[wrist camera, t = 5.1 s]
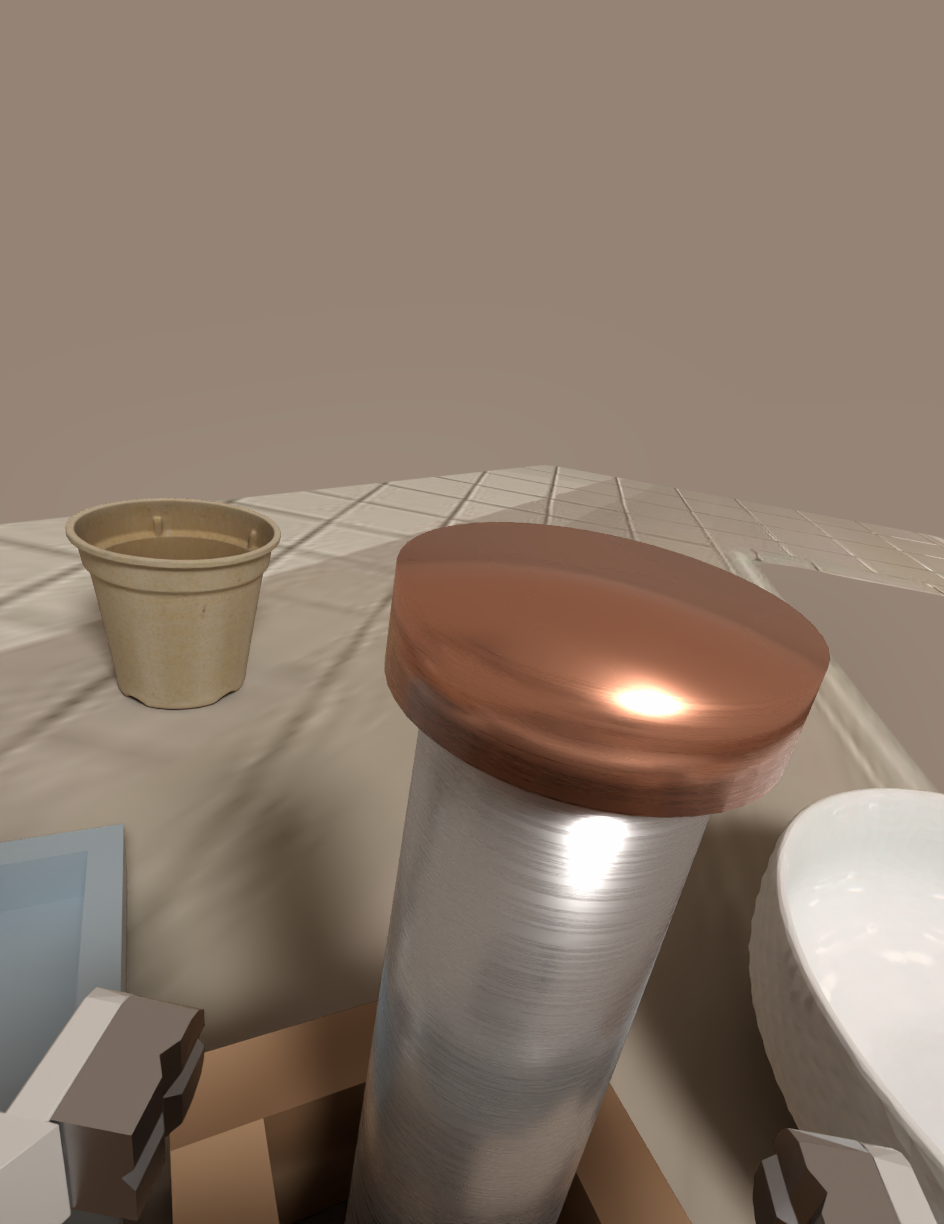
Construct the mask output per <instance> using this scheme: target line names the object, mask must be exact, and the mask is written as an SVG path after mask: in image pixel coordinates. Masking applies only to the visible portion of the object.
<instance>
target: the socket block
mask: <svg viewBox="0 0 944 1224" xmlns="http://www.w3.org/2000/svg"><path fill="white" fill-rule="evenodd" d="M377 1005H378V1000H377V1001H374V1002H370V1003H367V1004H364V1005H360V1006H357V1007H354V1008H350V1009H347V1010H344V1011H341V1012H337V1013H334V1014H331V1015H327V1016H324V1017H321V1018H317V1019H314V1020H311V1021H308V1022H304V1023H301V1024H298V1025H294V1026H291V1027H288V1028H284V1029H281V1030H278V1031H274V1032H271V1033H268V1034H265V1035H261V1036H258V1037H255V1038H251V1039H248V1040H245V1041H241V1042H238V1043H235V1044H232V1045H228V1046H225V1047H222V1048H218V1049H215V1050H212V1051H208V1052H205V1053H204V1062H203V1067H202V1073H201V1076H200V1079H199V1082H198V1085H197V1088H196V1091H195V1095H194V1098H193V1100H192V1102H191V1105H190V1107H189V1109H188V1112H187V1114H186V1116H185V1118H184V1121H183V1123H182V1124H181V1125H179V1126H178V1127H177V1128H176V1129H174V1130H173V1131H172V1132H171V1133H170V1134H169V1142H170V1170H171V1196H172V1221H173V1224H292V1223H294V1222H297V1221H299V1220H301V1219H304V1218H306V1217H308V1216H311V1215H313V1214H315V1213H318V1212H320V1211H322V1210H325V1209H327V1208H329V1207H332V1206H334V1205H336V1204H338V1203H341V1202H343V1201H345V1200H348V1199H349V1192H350V1186H351V1179H352V1172H353V1165H354V1159H355V1152H356V1145H357V1139H358V1132H359V1125H360V1119H361V1112H362V1105H363V1099H364V1092H365V1085H366V1079H367V1072H368V1065H369V1059H370V1052H371V1045H372V1039H373V1032H374V1025H375V1018H376V1012H377ZM556 1224H692V1223H691V1222H690V1220H689V1218H688V1216H687V1215H686V1213H685V1211H684V1209H683V1208H682V1206H681V1204H680V1203H679V1201H678V1199H677V1197H676V1196H675V1194H674V1192H673V1191H672V1189H671V1187H670V1185H669V1184H668V1182H667V1180H666V1179H665V1177H664V1175H663V1173H662V1172H661V1170H660V1168H659V1167H658V1165H657V1163H656V1161H655V1160H654V1158H653V1156H652V1155H651V1153H650V1151H649V1149H648V1148H647V1146H646V1144H645V1143H644V1141H643V1139H642V1137H641V1136H640V1134H639V1132H638V1131H637V1129H636V1127H635V1125H634V1124H633V1122H632V1120H631V1118H630V1117H629V1115H628V1113H627V1112H626V1110H625V1108H624V1106H623V1105H622V1103H621V1101H620V1100H619V1098H618V1096H617V1094H616V1093H615V1091H614V1089H613V1088H612V1086H611V1084H610V1083H609V1085H608V1088H607V1090H606V1093H605V1096H604V1098H603V1101H602V1104H601V1106H600V1109H599V1112H598V1114H597V1117H596V1120H595V1122H594V1125H593V1128H592V1130H591V1133H590V1135H589V1138H588V1141H587V1143H586V1146H585V1149H584V1151H583V1154H582V1157H581V1159H580V1162H579V1165H578V1167H577V1170H576V1172H575V1175H574V1178H573V1180H572V1183H571V1186H570V1188H569V1191H568V1194H567V1196H566V1199H565V1202H564V1204H563V1207H562V1209H561V1212H560V1215H559V1217H558V1220H557V1223H556Z"/></svg>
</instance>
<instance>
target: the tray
mask: <svg viewBox="0 0 944 1224" xmlns="http://www.w3.org/2000/svg"><path fill="white" fill-rule="evenodd" d="M126 931H127V870H126V854H125V837H124V824H119V825H112V826H106V827H99V828H93V829H86V830H80V831H73V832H67V833H60V834H54V835H47V836H41V837H34V838H28V839H21V840H15V841H8V842H2V843H0V1111H1V1112H6V1111H7V1109H8V1108H9V1106H10V1105H11V1103H12V1102H13V1100H14V1099H15V1098H16V1096H17V1095H18V1093H19V1092H20V1090H21V1089H22V1087H23V1086H24V1085H25V1083H26V1082H27V1080H28V1079H29V1077H30V1076H31V1074H32V1073H33V1072H34V1070H35V1069H36V1067H37V1066H38V1064H39V1063H40V1061H41V1060H42V1059H43V1057H44V1056H45V1054H46V1053H47V1051H48V1050H49V1048H50V1047H51V1045H52V1044H53V1043H54V1041H55V1040H56V1038H57V1037H58V1035H59V1034H60V1032H61V1031H62V1030H63V1028H64V1027H65V1025H66V1024H67V1022H68V1021H69V1019H70V1018H71V1017H72V1015H73V1014H74V1012H75V1011H76V1009H77V1008H78V1006H79V1005H80V1004H81V1002H82V1001H83V999H84V998H85V997H86V996H88V995H89V994H90V993H91V992H92V991H93V990H94V989H95V988H96V987H99V988H104V989H110V990H115V991H120V992H125V993H126ZM62 1224H123V1218H117V1217H111V1216H106V1215H100V1214H94V1213H89V1212H83V1211H78V1210H72V1209H71V1215H70V1216H69V1217H68V1218H67V1219H66V1220H65V1221H64V1222H63V1223H62Z"/></svg>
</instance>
